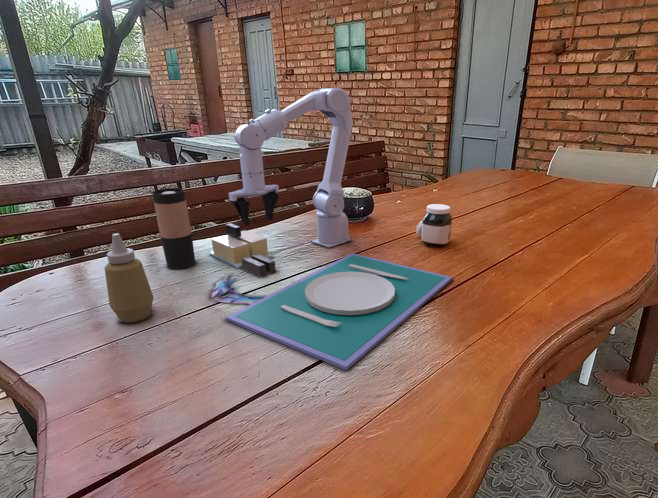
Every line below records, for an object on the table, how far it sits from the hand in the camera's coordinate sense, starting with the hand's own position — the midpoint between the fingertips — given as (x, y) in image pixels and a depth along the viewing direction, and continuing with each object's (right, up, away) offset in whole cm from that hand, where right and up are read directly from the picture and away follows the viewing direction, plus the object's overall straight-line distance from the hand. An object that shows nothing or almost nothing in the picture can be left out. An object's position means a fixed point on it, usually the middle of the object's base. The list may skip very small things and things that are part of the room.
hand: (257, 221), depth 118 cm
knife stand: (+2, -14, -7) cm, 15 cm away
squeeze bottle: (-18, -24, -29) cm, 42 cm away
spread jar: (+51, -5, +14) cm, 53 cm away
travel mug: (-20, -12, -3) cm, 24 cm away
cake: (-5, -9, +3) cm, 11 cm away
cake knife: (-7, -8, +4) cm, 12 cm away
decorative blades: (-1, -19, -19) cm, 27 cm away
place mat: (+26, -20, -22) cm, 40 cm away
